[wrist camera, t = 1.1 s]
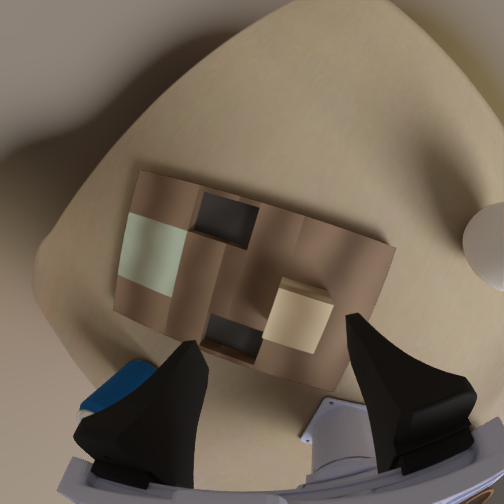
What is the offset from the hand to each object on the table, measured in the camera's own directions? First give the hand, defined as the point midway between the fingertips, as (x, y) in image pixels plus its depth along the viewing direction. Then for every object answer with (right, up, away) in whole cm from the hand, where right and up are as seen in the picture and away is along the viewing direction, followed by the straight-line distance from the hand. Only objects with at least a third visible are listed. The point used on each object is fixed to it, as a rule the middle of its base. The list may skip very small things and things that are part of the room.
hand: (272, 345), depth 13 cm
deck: (-2, +1, +16) cm, 16 cm away
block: (+3, -1, +13) cm, 13 cm away
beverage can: (-14, -12, +20) cm, 27 cm away
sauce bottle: (+23, +6, +11) cm, 26 cm away
